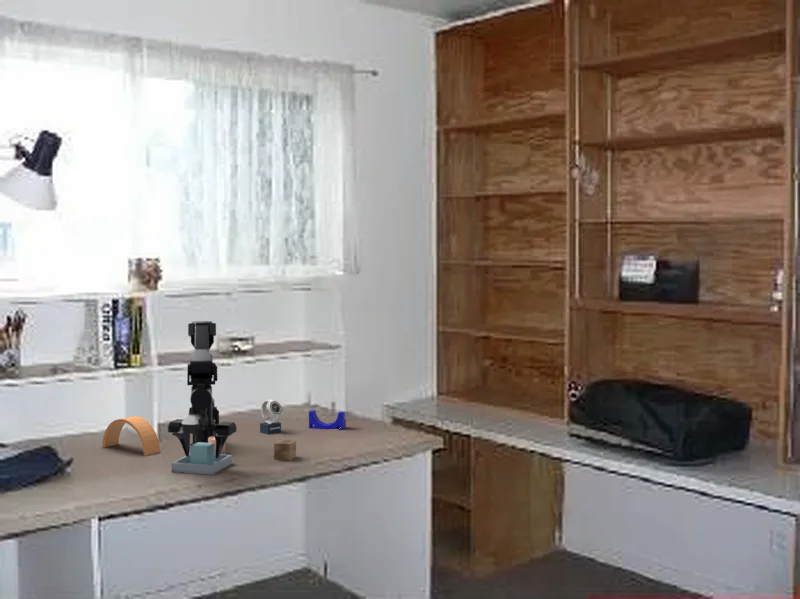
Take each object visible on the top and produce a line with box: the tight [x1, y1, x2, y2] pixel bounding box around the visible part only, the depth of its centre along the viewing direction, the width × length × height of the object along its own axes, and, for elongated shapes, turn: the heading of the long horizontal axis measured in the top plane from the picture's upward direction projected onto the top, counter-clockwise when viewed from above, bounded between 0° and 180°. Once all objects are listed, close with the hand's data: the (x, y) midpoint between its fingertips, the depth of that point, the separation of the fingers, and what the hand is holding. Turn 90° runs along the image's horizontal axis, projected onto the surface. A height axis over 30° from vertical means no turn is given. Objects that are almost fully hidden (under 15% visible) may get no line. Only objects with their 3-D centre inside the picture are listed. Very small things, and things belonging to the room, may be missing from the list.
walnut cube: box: [273, 439, 297, 462], centre depth 259 cm, size 5×5×5 cm
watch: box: [259, 399, 283, 435], centre depth 294 cm, size 6×8×11 cm
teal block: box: [189, 442, 214, 465], centre depth 248 cm, size 5×5×6 cm
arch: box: [102, 415, 161, 456], centre depth 269 cm, size 6×20×10 cm, turn 56°
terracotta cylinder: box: [208, 436, 226, 455], centre depth 264 cm, size 5×5×5 cm
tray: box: [171, 453, 233, 476], centre depth 248 cm, size 13×13×2 cm
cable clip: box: [308, 409, 347, 431], centre depth 302 cm, size 12×4×6 cm, turn 78°
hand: (202, 457), depth 248 cm, fingers open, 9 cm apart
